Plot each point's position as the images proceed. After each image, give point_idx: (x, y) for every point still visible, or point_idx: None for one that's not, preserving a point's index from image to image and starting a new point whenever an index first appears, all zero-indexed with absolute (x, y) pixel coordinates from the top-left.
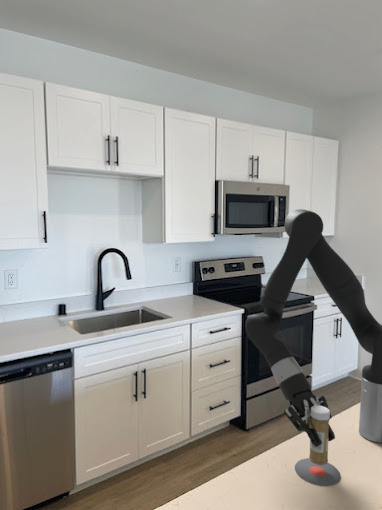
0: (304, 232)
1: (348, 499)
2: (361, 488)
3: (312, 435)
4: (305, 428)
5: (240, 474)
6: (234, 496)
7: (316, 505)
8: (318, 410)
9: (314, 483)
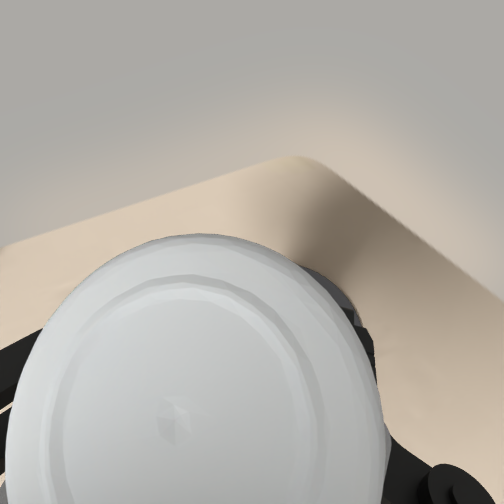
0: None
1: (342, 209)
2: (260, 203)
3: (375, 376)
4: (427, 469)
5: None
6: None
7: (459, 268)
8: (276, 427)
9: (358, 321)
